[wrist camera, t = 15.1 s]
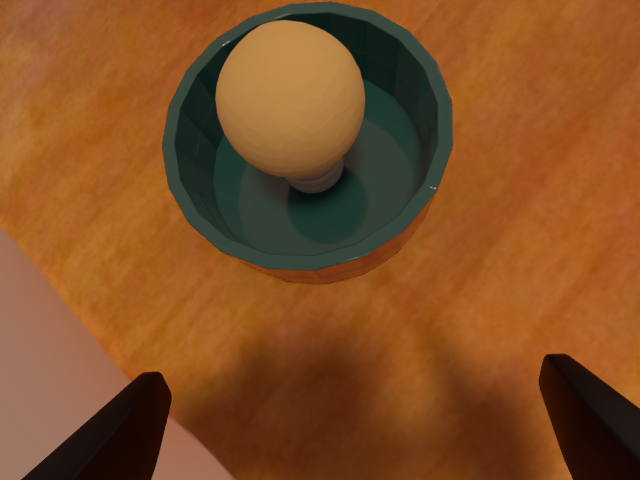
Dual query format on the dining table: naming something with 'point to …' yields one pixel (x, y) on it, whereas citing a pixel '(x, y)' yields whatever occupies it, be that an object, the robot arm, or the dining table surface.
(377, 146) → the round teal dish
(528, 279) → the dining table surface
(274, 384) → the dining table surface
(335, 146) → the light bulb
